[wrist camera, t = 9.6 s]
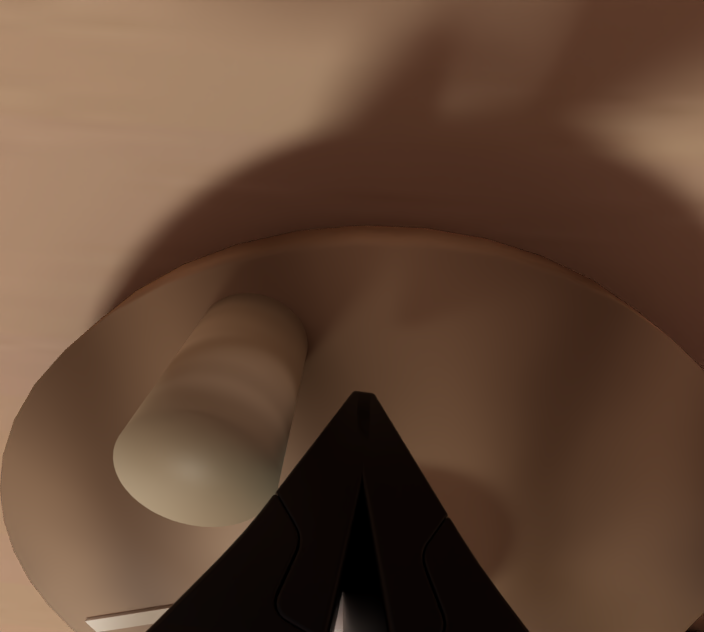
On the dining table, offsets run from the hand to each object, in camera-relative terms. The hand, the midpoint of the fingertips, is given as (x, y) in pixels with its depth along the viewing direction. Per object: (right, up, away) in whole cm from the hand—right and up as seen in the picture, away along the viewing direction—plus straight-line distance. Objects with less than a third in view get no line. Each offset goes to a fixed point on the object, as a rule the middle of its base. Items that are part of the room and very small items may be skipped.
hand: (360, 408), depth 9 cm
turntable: (0, -6, +7) cm, 10 cm away
